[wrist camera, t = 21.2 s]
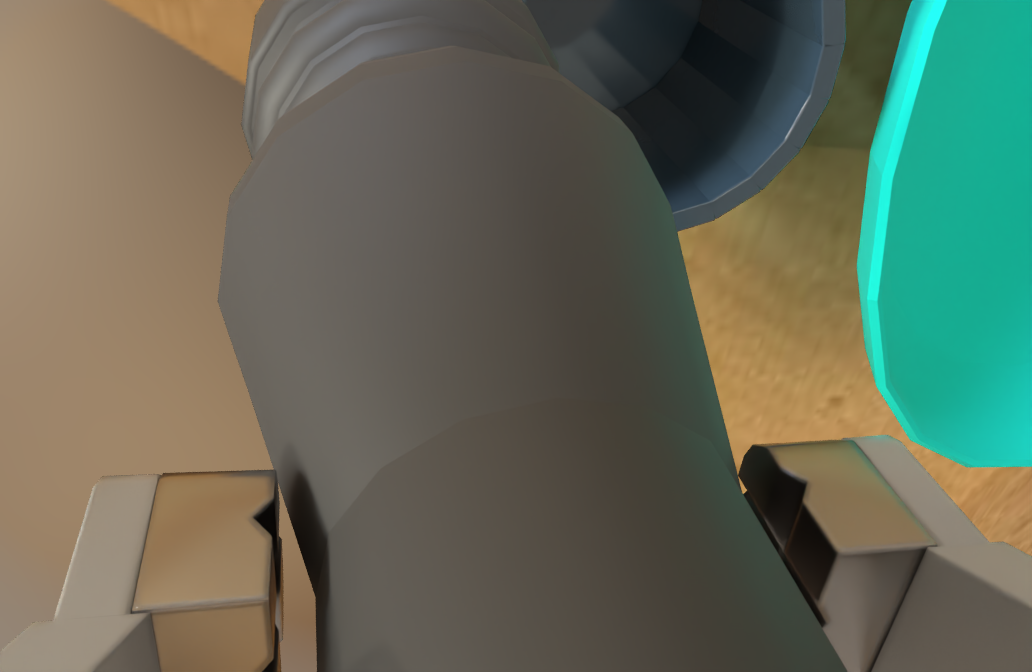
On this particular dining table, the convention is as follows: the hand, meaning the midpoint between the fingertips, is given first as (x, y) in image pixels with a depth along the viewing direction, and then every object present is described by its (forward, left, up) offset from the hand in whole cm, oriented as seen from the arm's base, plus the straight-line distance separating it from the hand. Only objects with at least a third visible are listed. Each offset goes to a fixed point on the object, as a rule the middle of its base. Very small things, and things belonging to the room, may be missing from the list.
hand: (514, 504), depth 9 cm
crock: (+9, -1, -31) cm, 32 cm away
